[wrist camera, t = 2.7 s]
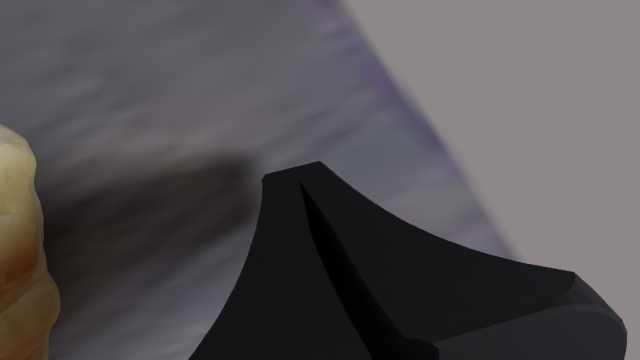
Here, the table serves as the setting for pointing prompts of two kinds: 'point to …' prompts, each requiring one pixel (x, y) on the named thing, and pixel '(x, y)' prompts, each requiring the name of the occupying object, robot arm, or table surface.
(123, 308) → the table surface
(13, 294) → the pastry
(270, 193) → the robot arm
